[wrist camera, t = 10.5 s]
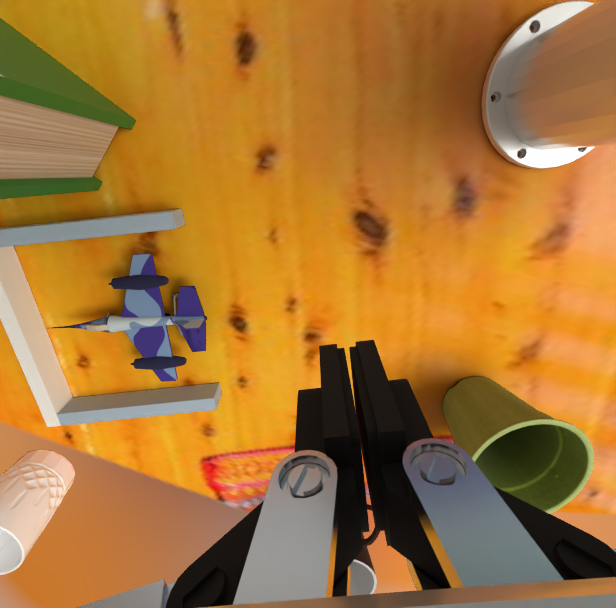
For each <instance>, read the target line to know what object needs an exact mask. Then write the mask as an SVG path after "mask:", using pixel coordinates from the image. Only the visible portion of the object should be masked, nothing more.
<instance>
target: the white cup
mask: <svg viewBox="0 0 616 608" xmlns="http://www.w3.org/2000/svg"><path fill="white" fill-rule="evenodd" d="M74 477H75V471H74V468H73V465H72V464H71V463H70V462H69V461H68V460H67V459H66V458H65V457H64V456H62V455H60V454H58V453H56V452H54V451H50V450H41V449H38V450H35V451H30V452H27V453H26V454H25V455H24V456H23V457H22V458H20V459H19V460H18V461H17V462H16V463H15V464H14V465H13V466H12V467H11V468H10V469H8V470H7V471H5V472H4V473H3V474H2V475H1V476H0V575H3V574H7V573H9V572H12V571H14V570H15V569H17V568H18V567H19V566H20V565H21V564H22V562H23V561H24V559H25V557H26V556H27V554H28V553H29V551H30V550H31V548H32V547H33V545H34V544H35V542H36V540H37V539H38V537H39V536H40V534H41V533H42V531H43V530H44V528H45V527H46V525H47V524H48V522H49V520H50V519H51V518H52V516H53V514H54V512H55V511H56V509H57V508H58V506H59V505H60V503H61V501H62V499H63V497H64V495H65V494H66V493H67V491H68V490H69V488H70V487H71V485H72V483H73V481H74Z"/></svg>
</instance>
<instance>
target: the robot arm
mask: <svg viewBox="0 0 616 608" xmlns="http://www.w3.org/2000/svg"><path fill="white" fill-rule="evenodd" d="M530 30H531V31H530ZM491 96H492V97H493V101H491ZM482 119H483V123H484V127H485V131H486V133H487V136H488V138H489V140H490V142H491V144H492V145H493V146H494V148H495V149H496V150H497V151H498V153H499V154H500V155H502V156H503V157H504V158H505V159H507V160H508V161H509V162H512V163H514V164H516V165H518V166H521V167H526V168H530V169H546V168H556V167H559V166H562V165H566V164H569V163H571V162H573V161H575V160H577V159H579V158H581V157H582V156H584V155H585V154H587V153H588V152H589V151H591V150H592V149H594V148H595V147H596V146H605V145H616V0H600V1H598V2H596V3H593V2H589V1H581V0H570V1H566V2H561V3H557V4H554V5H552V6H550V7H547V8H545V9H543V10H541V11H539V12H538V13H536V14H535V15H533V16H532V17H530V18H528V19H527V20H526V21H525V22H523V23H522V24H521V25H520V26H519V27H517V28H516V29H515V30H514V31H513V32H512V33H511V34H510V36H509V37H508V38H507V39H506V40H505V41H504V42H503V44H502V46H501V47H500V49H499V50H498V52H497V53H496V55H495V57H494V59H493V61H492V63H491V65H490V68H489V70H488V72H487V76H486V79H485V83H484V87H483V94H482ZM517 152H518V156H517ZM319 349H320V370H321V388H315V389H305V390H299V391H298V403H297V421H296V439H295V453H292V454H290V455H288V456H287V457H285V458H284V459H282V460H281V461H280V462H279V464H278V465H277V466H276V467H275V469H274V471H273V473H272V476H271V480H270V483H269V486H268V490H267V493H266V496H265V499H264V501H263V502H262V503H261V504H260V505H258V506H257V507H256V508H255V509H254V510H253V511H252V512H250V513H249V514H248V515H247V516H246V517H245V518H244V519H243V520H241V521H240V522H239V523H238V524H237V525H236V526H235V527H233V528H232V529H231V530H230V531H229V532H228V533H227V534H225V535H224V536H223V537H222V538H221V539H220V540H219V541H217V542H216V543H215V544H214V545H213V546H212V547H211V548H210V549H208V550H207V551H206V552H205V553H204V554H203V555H202V556H200V557H199V558H198V559H197V560H196V561H195V562H194V563H193V564H191V565H190V566H189V567H188V568H187V569H186V570H185V571H184V573H182V575H181V576H180V577H179V578H178V579H177V581H176V582H173V583H170V584H166V582H165V580H164V579H163V580H160V581H157V582H154V583H151V584H148V585H145V586H142V587H139V588H136V589H133V590H130V591H126V592H123V593H121V594H117V595H114V596H111V597H108V598H105V599H102V600H99V601H96V602H93V603H90V604H86V605H83V606H80V607H77V608H616V549H611V548H610V547H609V546H608V545H606V544H605V543H603V542H602V541H600V540H599V539H597V538H595V537H594V536H592V535H590V534H588V533H586V532H584V531H582V530H580V529H578V528H576V527H574V526H572V525H570V524H568V523H566V522H564V521H562V520H561V519H558V518H557V517H555V516H553V515H551V514H549V513H547V512H545V511H543V510H541V509H539V508H537V507H535V506H533V505H531V504H529V503H527V502H525V501H523V500H521V499H519V498H517V497H515V496H513V495H511V494H509V493H507V492H505V491H503V490H501V489H499V488H497V487H495V486H493V485H492V484H491V483H490V482H489V480H488V479H487V478H486V477H485V475H484V474H483V473H482V471H481V470H480V469H479V467H478V466H477V465H476V463H475V462H474V461H473V459H472V458H471V457H470V455H469V454H468V453H467V452H466V451H465V450H464V449H463V448H461V447H459V446H458V445H456V444H454V443H452V442H449V441H446V440H443V439H436V438H433V436H432V434H431V431H430V429H429V427H428V425H427V422H426V420H425V418H424V416H423V413H422V411H421V409H420V407H419V404H418V402H417V400H416V398H415V395H414V393H413V391H412V389H411V387H410V384H409V382H408V380H407V379H399V380H390V381H388V379H387V376H386V373H385V370H384V368H383V365H382V362H381V359H380V356H379V354H378V351H377V348H376V345H375V342H374V340H368V341H359V342H356V347H350V359H351V369H352V379H353V389H354V399H355V406H354V400H353V395H352V389H351V383H350V378H349V372H348V367H347V361H346V356H345V350H344V348H338V349H337V344H332V345H323V346H319ZM355 408H356V411H355ZM361 449H362V452H361ZM362 455H363V460H364V466H365V471H366V477H367V483H368V488H369V494H370V500H371V505H372V511H373V516H374V522H375V528H376V531H383V530H384V531H385V535H386V541H387V545H388V546H391V547H393V548H394V549H395V550H397V551H398V552H399V553H400V554H402V555H403V556H404V557H406V558H407V564H408V568H409V572H410V574H411V577H412V579H413V582H414V585H415V587H416V590H417V591H408V592H394V593H381V594H367V595H353V596H350V582H351V572H350V564H351V563H352V562H353V561H354V559H355V558H356V557H357V555H358V554H359V553H360V552H361V550H362V549H363V545H362V536H361V532H368V531H369V524H368V513H367V503H366V493H365V483H364V473H363V463H362Z"/></svg>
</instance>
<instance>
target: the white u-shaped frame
mask: <svg viewBox="0 0 616 608" xmlns="http://www.w3.org/2000/svg"><path fill="white" fill-rule="evenodd" d="M183 225H185V221H184V217H183V212H182V209H174V210H164V211H155V212H145V213H136V214H126V215H117V216H107V217H98V218H88V219H79V220H69V221H60V222H50V223H41V224H31V225H22V226H12V227H3V228H0V319H1V321H2V324H3V326H4V328H5V331H6V333H7V335H8V338H9V340H10V342H11V344H12V347H13V349H14V351H15V354H16V356H17V358H18V360H19V363H20V365H21V367H22V370H23V372H24V374H25V377H26V379H27V381H28V383H29V386H30V388H31V390H32V393H33V395H34V397H35V399H36V402H37V404H38V406H39V409H40V411H41V413H42V415H43V418H44V420H45V422H46V425H47V427H53V426H62V425H72V424H82V423H92V422H102V421H111V420H121V419H131V418H141V417H151V416H160V415H170V414H180V413H190V412H200V411H209V410H217V407H218V404H219V401H220V398H221V395H222V392H221V387H220V383H211V384H201V385H192V386H182V387H172V388H162V389H152V390H143V391H133V392H123V393H113V394H104V395H94V396H84V397H74V398H73V397H72V394H71V391H70V389H69V386H68V384H67V381H66V379H65V376H64V374H63V371H62V368H61V366H60V363H59V361H58V358H57V356H56V353H55V351H54V348H53V345H52V343H51V340H50V338H49V335H48V333H47V330H46V328H45V325H44V322H43V320H42V317H41V315H40V312H39V310H38V307H37V305H36V302H35V299H34V297H33V294H32V292H31V289H30V287H29V284H28V282H27V279H26V276H25V274H24V271H23V269H22V266H21V264H20V261H19V259H18V256H17V253H16V251H15V248H14V246H18V245H28V244H37V243H47V242H56V241H66V240H76V239H85V238H95V237H104V236H114V235H123V234H133V233H142V232H152V231H161V230H171V229H176V228H179V227H181V226H183ZM43 328H44V329H43Z"/></svg>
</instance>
